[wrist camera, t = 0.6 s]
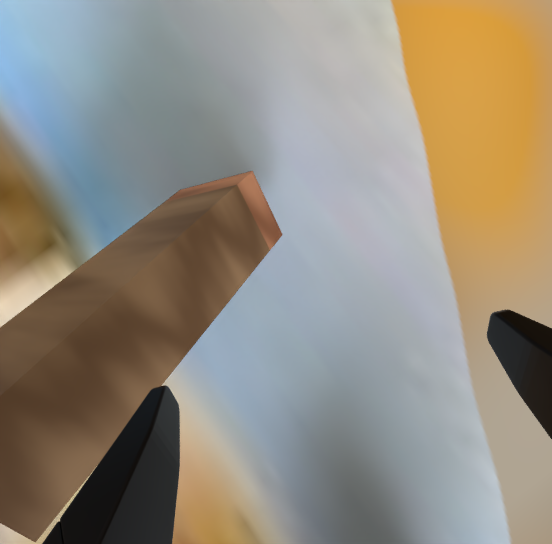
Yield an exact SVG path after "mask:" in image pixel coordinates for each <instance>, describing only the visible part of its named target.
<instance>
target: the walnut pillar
mask: <svg viewBox="0 0 552 544" xmlns="http://www.w3.org/2000/svg"><path fill="white" fill-rule="evenodd" d="M281 236H282V233H281V231H280V228H279V226H278V224H277V222H276V220H275V218H274V216H273V214H272V211H271V209H270V207H269V205H268V203H267V201H266V199H265V197H264V194H263V192H262V190H261V188H260V186H259V184H258V182H257V180H256V177H255V175H254V173H253V171H250V172H246V173H243V174H239V175H235V176H231V177H227V178H224V179H220V180H216V181H212V182H208V183H205V184H201V185H197V186H193V187H189V188H186V189H182V190H179V191H178V192H177V193H176V194H174V195H173V196H172V197H170V198H169V199H168V200H166V201H165V202H164V203H162V204H161V205H160V206H159V207H157V208H156V209H155V210H153V211H152V212H151V213H149V214H148V215H147V216H145V217H144V218H143V219H142V220H140V221H139V222H138V223H136V224H135V225H134V226H132V227H131V228H130V229H129V230H127V231H126V232H125V233H123V234H122V235H121V236H119V237H118V238H117V239H115V240H114V241H113V242H112V243H110V244H109V245H108V246H106V247H105V248H104V249H102V250H101V251H100V252H98V253H97V254H96V255H95V256H93V257H92V258H91V259H89V260H88V261H87V262H85V263H84V264H83V265H81V266H80V267H79V268H78V269H76V270H75V271H74V272H72V273H71V274H70V275H68V276H67V277H66V278H65V279H63V280H62V281H61V282H59V283H58V284H57V285H55V286H54V287H53V288H51V289H50V290H49V291H48V292H46V293H45V294H44V295H42V296H41V297H40V298H38V299H37V300H36V301H34V302H33V303H32V304H31V305H29V306H28V307H27V308H25V309H24V310H23V311H21V312H20V313H19V314H18V315H16V316H15V317H14V318H12V319H11V320H10V321H8V322H7V323H6V324H4V325H3V326H2V327H1V328H0V523H1V524H3V525H5V526H7V527H9V528H10V529H12V530H14V531H16V532H18V533H19V534H21V535H23V536H25V537H27V538H28V539H30V540H32V541H34V542H36V541H37V540H38V538H39V537H40V536H41V535H42V533H43V532H44V531H45V530H46V528H47V527H48V526H49V525H50V524H51V522H52V521H53V520H54V519H55V517H56V516H57V515H58V514H59V512H60V511H61V510H62V509H63V507H64V506H65V505H66V504H67V502H68V501H69V500H70V499H71V497H72V496H73V495H74V494H75V492H76V491H77V490H78V489H79V487H80V486H81V485H82V484H83V482H84V481H85V480H86V479H87V477H88V476H89V475H90V474H91V472H92V471H93V470H94V469H95V467H96V466H97V465H98V464H99V462H100V461H101V460H102V458H103V457H104V456H105V454H106V453H107V451H108V450H109V448H110V447H111V446H112V444H113V443H114V441H115V440H116V438H117V437H118V436H119V434H120V433H121V431H122V430H123V428H124V427H125V426H126V424H127V423H128V421H129V420H130V419H131V417H132V416H133V414H134V413H135V411H136V410H137V409H138V407H139V406H140V404H141V403H142V401H143V400H144V399H145V397H146V396H147V394H148V393H149V392H150V390H151V389H153V388H156V387H160V386H161V385H162V384H163V383H164V382H165V380H166V379H167V378H168V377H169V375H170V374H171V373H172V372H173V370H174V369H175V368H176V367H177V365H178V364H179V363H180V362H181V360H182V359H183V358H184V357H185V355H186V354H187V353H188V352H189V350H190V349H191V348H192V347H193V345H194V344H195V343H196V342H197V340H198V339H199V338H200V337H201V335H202V334H203V333H204V332H205V330H206V329H207V328H208V327H209V325H210V324H211V323H212V322H213V321H214V319H215V318H216V317H217V316H218V314H219V313H220V312H221V311H222V309H223V308H224V307H225V306H226V304H227V303H228V302H229V301H230V299H231V298H232V297H233V296H234V294H235V293H236V292H237V291H238V289H239V288H240V287H241V286H242V284H243V283H244V282H245V281H246V279H247V278H248V277H249V276H250V274H251V273H252V272H253V271H254V269H255V268H256V267H257V266H258V264H259V263H260V262H261V261H262V259H263V258H264V257H265V256H266V255H267V253H268V252H269V251H270V250H271V248H272V247H273V246H274V245H275V243H276V242H277V241H278V240H279V238H280V237H281Z"/></svg>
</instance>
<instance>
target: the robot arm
mask: <svg viewBox="0 0 552 544" xmlns="http://www.w3.org/2000/svg"><path fill="white" fill-rule="evenodd" d="M487 338H488V341H489V343H490V345H491V347H492V349H493V350H494V352H495V354H496V356H497V357H498V359H499V361H500V362H501V364H502V366H503V368H504V369H505V371H506V373H507V374H508V376H509V378H510V380H511V382H512V383H513V385H514V387H515V388H516V390H517V391H518V393H519V395H520V396H521V397H522V399H523V400H524V402H525V403H526V404H527V406H528V407H529V409H530V410H531V411H532V413H533V414H534V416H535V417H536V418H537V420H538V421H539V422H540V424H541V425H542V427H543V428H544V429H545V431H546V432H547V434H548V435H549V436H550V438H551V439H552V328H549V327H547V326H545V325H543V324H540V323H538V322H536V321H534V320H531V319H529V318H527V317H525V316H522V315H520V314H518V313H515V312H513V311H511V310H502V311H497V312H494V313H492V314H491V316H490V321H489V326H488V331H487ZM179 467H180V422H179V405H178V402H177V401H176V399H175V397H174V395H173V394H172V392H171V390H170V389H169V387H168V386H160V387H156V388H153V389H151V390H150V392H149V393H148V394H147V396H146V397H145V399H144V400H143V401H142V403H141V404H140V406H139V407H138V409H137V410H136V411H135V413H134V414H133V416H132V417H131V419H130V420H129V421H128V423H127V424H126V426H125V427H124V428H123V430H122V431H121V433H120V434H119V436H118V437H117V438H116V440H115V441H114V443H113V444H112V446H111V447H110V448H109V450H108V451H107V453H106V454H105V456H104V457H103V458H102V460H101V461H100V463H99V464H98V465H97V467H96V468H95V470H94V471H93V473H92V474H91V475H90V477H89V478H88V480H87V481H86V483H85V484H84V485H83V487H82V488H81V490H80V491H79V493H78V494H77V495H76V497H75V498H74V500H73V501H72V502H71V504H70V505H69V507H68V508H67V510H66V511H65V512H64V514H63V515H62V517H61V518H60V522H57V524H56V525H55V527H54V528H53V529H52V531H51V532H50V534H49V535H48V536H47V538H46V539H45V541H44V542H43V543H42V544H172V538H173V528H174V518H175V509H176V499H177V489H178V479H179Z"/></svg>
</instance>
